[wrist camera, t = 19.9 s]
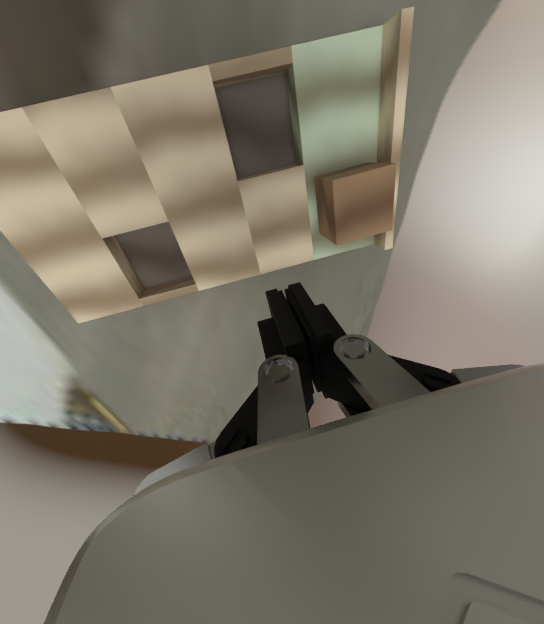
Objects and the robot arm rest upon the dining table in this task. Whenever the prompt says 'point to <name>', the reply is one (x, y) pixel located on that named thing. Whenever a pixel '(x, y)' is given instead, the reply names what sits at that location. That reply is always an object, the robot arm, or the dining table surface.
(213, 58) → the dining table surface
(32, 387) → the dining table surface
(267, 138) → the trap deck
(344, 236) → the walnut block
